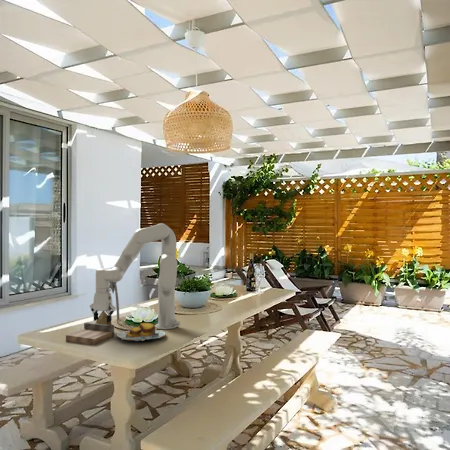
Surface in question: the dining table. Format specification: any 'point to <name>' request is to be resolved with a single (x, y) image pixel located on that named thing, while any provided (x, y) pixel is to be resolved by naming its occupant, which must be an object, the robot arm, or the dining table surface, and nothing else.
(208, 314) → the dining table surface
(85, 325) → the wooden cutting board
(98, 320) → the rock
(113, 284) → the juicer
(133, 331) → the food on plate
